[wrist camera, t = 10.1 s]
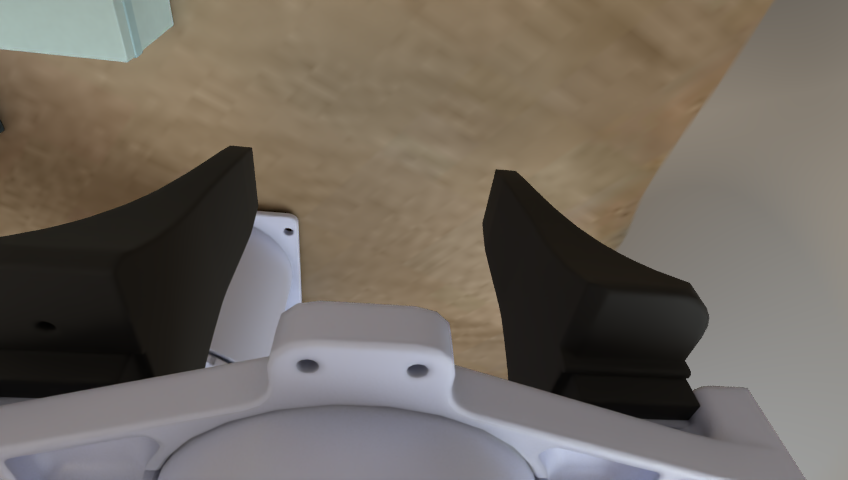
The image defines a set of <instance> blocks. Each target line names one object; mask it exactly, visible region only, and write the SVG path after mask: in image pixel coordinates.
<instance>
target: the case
mask: <svg viewBox="0 0 848 480" xmlns="http://www.w3.org/2000/svg"><path fill="white" fill-rule="evenodd" d="M173 25H174V23H173V18H172V12H171V7H170V2H169V0H0V49H5V50H14V51H24V52H33V53H43V54H53V55H62V56H72V57H82V58H91V59H101V60H110V61H120V62H129V61H130V60H131V59H132V58H136V57H138V56H139V55H141V54H142V53H143V49H145V48H146V47H147V46H148V45H150V44H151V43H152V42H153V41H155V40H156V39H157V38H158V37H160V36H161V35H162V34H163V33H164V32H166V31H167V30H168V29H169V28H171V27H172V26H173Z"/></svg>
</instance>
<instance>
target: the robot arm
mask: <svg viewBox="0 0 848 480" xmlns="http://www.w3.org/2000/svg"><path fill="white" fill-rule="evenodd" d="M257 209H258V199H257V190H256V181H255V171H254V162H253V152H252V148H250V147H239V146H229V147H227V148H225V149H224V150H222V151H220V152H219V153H217V154H216V155H214V156H213V157H211V158H210V159H208V160H207V161H205V162H204V163H202V164H201V165H199V166H198V167H196V168H194V169H193V170H191V171H190V172H188V173H187V174H185V175H183V176H181V177H180V178H178V179H176V180H174V181H173V182H171V183H169V184H167V185H166V186H164V187H162V188H160V189H158V190H157V191H155V192H153V193H150V194H148V195H146V196H144V197H142V198H140V199H137V200H135V201H133V202H131V203H128V204H126V205H123V206H120V207H117V208H115V209H112V210H109V211H106V212H103V213H100V214H98V215H95V216H92V217H88V218H85V219H81V220H78V221H74V222H71V223H67V224H63V225H59V226H55V227H50V228H46V229H41V230H36V231H31V232H25V233H20V234H15V235H9V236H3V237H0V480H806V479H805V477H804V476H803V474H802V472H801V471H800V470H799V468H798V466H797V465H796V463H795V462H794V460H793V458H792V457H791V455H790V454H789V452H788V451H787V449H786V447H785V446H784V445H783V443H782V441H781V440H780V438H779V437H778V435H777V433H776V432H775V430H774V429H773V427H772V426H771V424H770V422H769V421H768V419H767V418H766V416H765V415H764V413H763V412H762V410H761V408H760V407H759V406H758V404H757V402H756V401H755V399H754V397H753V396H752V394H751V393H750V391H749V390H748V389H747V388H743V387H722V386H721V387H720V386H703V387H700V388H697V389H694V390H693V391H692V389H691V387H690V385H689V384H688V382H687V380H686V378H689V377H690V375H691V371H690V369H689V367H688V365H687V364H686V362H685V360H686V358H687V357H688V355H689V354H690V353H691V351H692V350H693V348H694V347H695V346H696V344H697V343H698V342H699V340H700V339H701V338H702V336H703V334H704V332H705V330H706V328H707V326H708V321H709V314H708V312H707V308H706V306H705V305H704V303H703V302H702V301H701V299H700V297H699V296H698V294H697V293H696V291H695V290H694V288H693V287H692V285H691V284H690V283H688V282H686V281H683V280H680V279H677V278H675V277H672V276H669V275H667V274H664V273H661V272H658V271H656V270H653V269H651V268H649V267H647V266H645V265H642V264H640V263H638V262H636V261H633V260H631V259H629V258H627V257H625V256H624V255H621V254H620V253H618V252H616V251H614V250H613V249H611V248H609V247H607V246H605V245H604V244H602V243H601V242H599V241H597V240H596V239H594V238H593V237H591V236H590V235H588V234H587V233H586V232H584V231H583V230H581V229H580V228H578V227H577V226H576V225H574V224H573V223H572V222H571V221H569V220H568V219H567V218H566V217H565V216H563V215H562V214H561V213H560V212H559V211H557V210H556V209H555V208H554V207H553V206H552V205H551V204H550V203H549V202H548V201H546V200H545V199H544V198H543V197H542V196H541V195H540V194H539V193H538V192H537V191H536V190H535V189H534V188H533V187H532V186H531V185H530V184H529V183H528V182H527V181H526V180H525V179H524V178H523V177H522V176H521V175H519V174H518V173H517V172H516V171H509V170H497V169H496V171H495V175H494V179H493V183H492V187H491V191H490V195H489V199H488V203H487V207H486V211H485V215H484V219H483V235H484V244H485V252H486V256H487V260H488V264H489V268H490V272H491V276H492V280H493V284H494V288H495V292H496V295H497V299H498V303H499V308H500V313H501V318H502V325H503V333H504V341H505V350H506V359H507V369H508V380H505V379H502V378H498V377H495V376H491V375H488V374H485V373H481V372H478V371H474V370H471V369H467V368H464V367H461V366H457V365H454V357H453V347H452V338H451V331H450V325H449V322H448V321H446V320H445V319H444V318H443V317H442V316H441V315H440V314H438V313H437V312H436V311H432V310H428V309H424V308H420V307H416V306H404V305H386V304H369V303H351V302H334V301H314V302H306V303H302V291H301V269H300V246H299V224H298V218H297V217H296V216H295V215H293V214H290V213H279V212H266V211H257ZM285 228H290V229H292V230H293V231H287V230H286V229H285Z"/></svg>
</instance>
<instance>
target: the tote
mask: <svg viewBox="0 0 848 480" xmlns="http://www.w3.org/2000/svg"><path fill="white" fill-rule="evenodd" d="M3 131H4V128H3V125H2V123H1V121H0V133H1V132H3Z"/></svg>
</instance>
